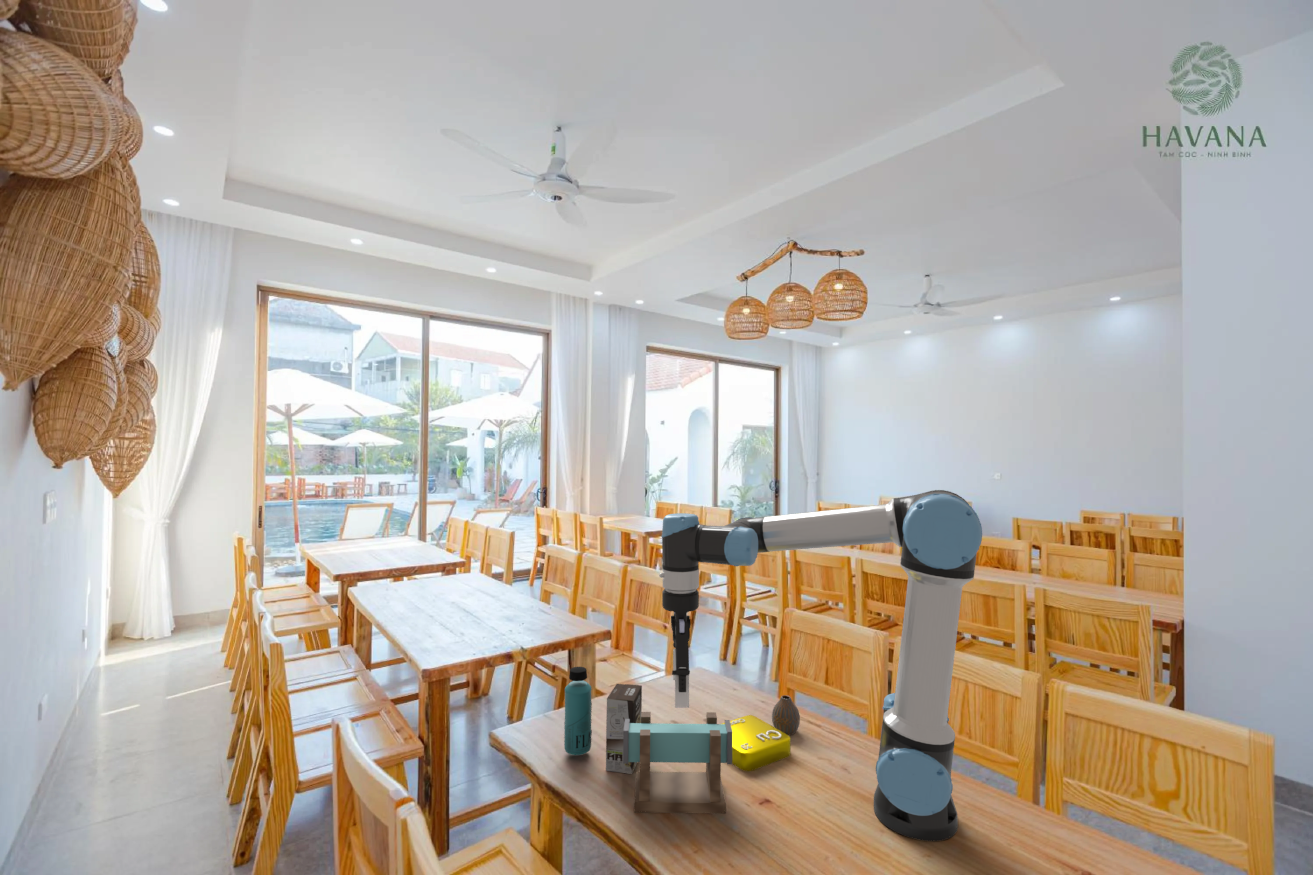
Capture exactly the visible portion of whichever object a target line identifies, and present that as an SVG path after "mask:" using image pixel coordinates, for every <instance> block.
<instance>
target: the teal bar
mask: <svg viewBox="0 0 1313 875" xmlns="http://www.w3.org/2000/svg"><path fill="white" fill-rule="evenodd" d="M730 721H731V720H730V719H724V723H725V724H722V723H717V724H706V723H662V722H661V723H657V722H656V723H653V722H651V723H630V719H625V723H624V733H623V764H628V762H637V763H640V729H642V730H650V763H686V764H689V763H691V764H693V763H694V764H699V763H700V764H701V763H702V764H703V763H705V764H706V763H709V758H710V730H720V734H721V764H727V766H731V765H733V764H732V728H731V724H730Z"/></svg>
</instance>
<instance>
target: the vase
mask: <svg viewBox="0 0 1313 875" xmlns="http://www.w3.org/2000/svg"><path fill="white" fill-rule="evenodd" d="M793 701H794V700H792V697H791V696H789V695H781V696H780V699H779V700H778V701H777V702H776V703H775V705H774V706H773V709H772V713H771V721H772V722H771V723H772V726H773V727H775V728H777V729H778V730H780V731H782V732H784V733H785V734H787V735H788V736H792V735H794V734H796V733H797V731H798V730H799V727H800V724H801V717H800V712H799V709H798V707H797V706H796V704H795V703H794V702H793Z"/></svg>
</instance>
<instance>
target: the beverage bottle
mask: <svg viewBox="0 0 1313 875" xmlns="http://www.w3.org/2000/svg"><path fill="white" fill-rule="evenodd" d="M587 678H588V673H587V668H586V667H584V666H574V667H571V668H570V669H569V677H568V679H569V680H571V681H570V682H569V683H568V684H567V685H566V686H565V688H564V723H563V724H564V725H563V726H564V727H563V728H564V733H563V735H564V737H563V739H564V740H563V746H564V747H563V748H564V752H566V754H568V755H571V756H582V755H585V754H587V753H588V752H589V751H590V750H591V748H592V742H593V741H592V739H593V738H592V736H593V734H592V732H593V730H592V708H593V702H592V698H593V697H592V685H591V684H590V683H589V682H587V681H585V680H587Z"/></svg>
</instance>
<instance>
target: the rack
mask: <svg viewBox="0 0 1313 875" xmlns="http://www.w3.org/2000/svg"><path fill="white" fill-rule="evenodd" d="M651 715H652V714H651V711H642V712H641V723H652V721H651V720H652V719H651V718H652V716H651ZM717 716H718V715H717V712H711V711H710V712H706V716H705V717H706V718H705V720H706V721H705V722H706V723H705V724H718V717H717ZM721 764H722V763H721V734H720V730H710V758H709V763H705V771H699V772H698V771H651V762H650V730H642V729H640V762H639V771H635V772H636V773H635V785H634V798H633V799H634V802H633V806H634V807H633V813H645V814H646V813H648V814H649V813H654V814H655V813H656V814H659V813H661V814H664V813H665V814H668V813H669V814H670V813H671V814H672V813H673V814H726V811H727V810H726V807H727V806H726V798H725V797H726V796H725V793H724V792H725V791H724V788H723V781H722V775H721V773H722V771H721V770H722V768H721V767H722V766H721Z"/></svg>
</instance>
